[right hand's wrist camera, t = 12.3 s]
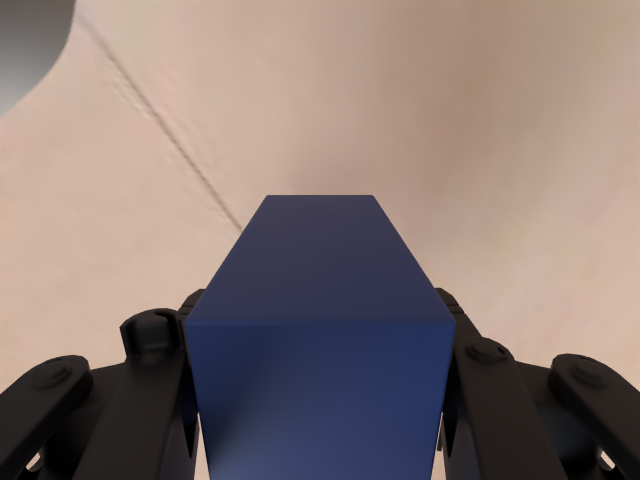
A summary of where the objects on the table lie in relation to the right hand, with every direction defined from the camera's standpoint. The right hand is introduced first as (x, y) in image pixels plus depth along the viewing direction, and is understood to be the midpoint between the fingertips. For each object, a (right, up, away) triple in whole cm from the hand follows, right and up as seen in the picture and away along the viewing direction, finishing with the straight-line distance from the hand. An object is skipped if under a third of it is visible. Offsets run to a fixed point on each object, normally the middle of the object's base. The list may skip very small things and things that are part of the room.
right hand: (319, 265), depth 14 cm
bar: (0, -7, +4) cm, 8 cm away
